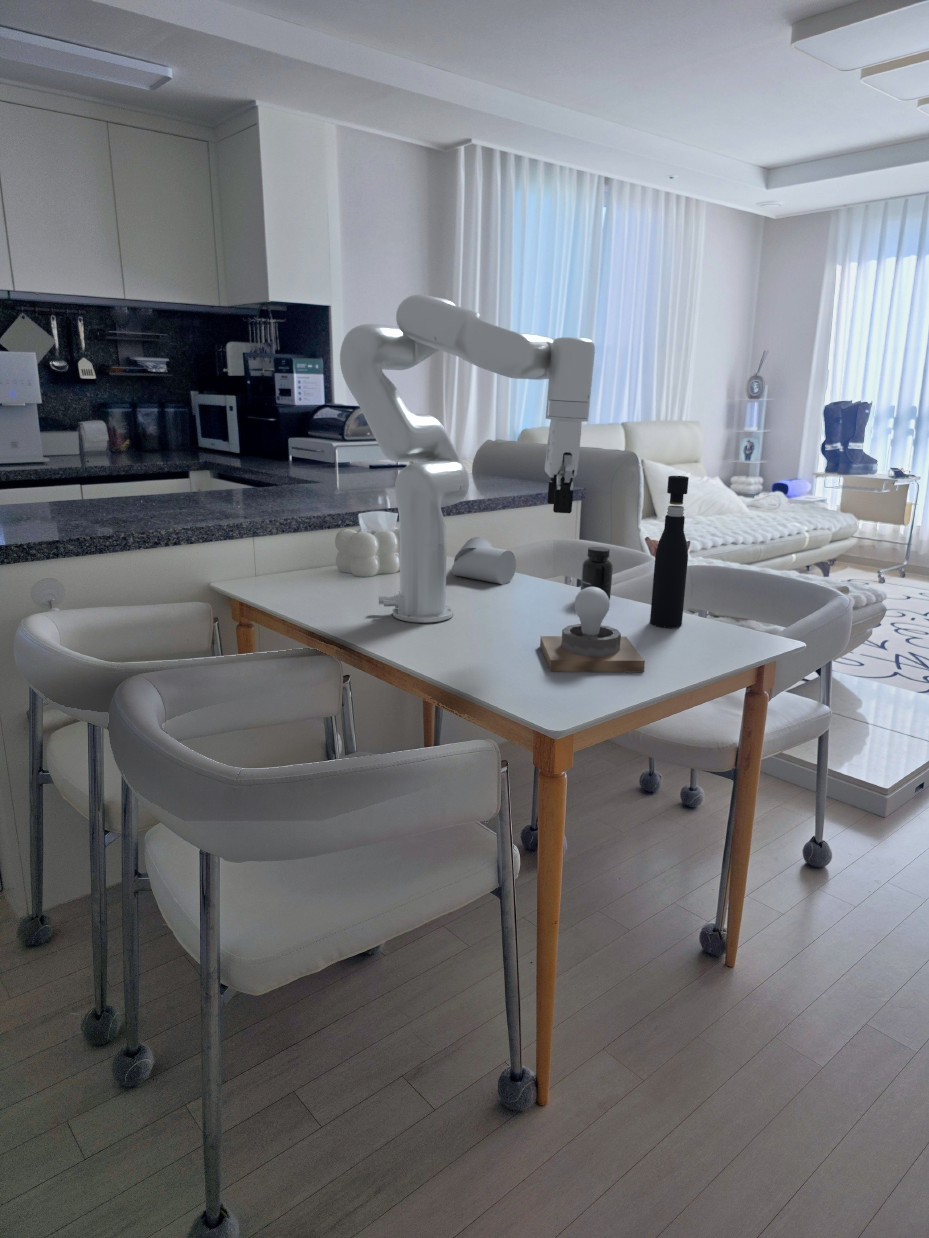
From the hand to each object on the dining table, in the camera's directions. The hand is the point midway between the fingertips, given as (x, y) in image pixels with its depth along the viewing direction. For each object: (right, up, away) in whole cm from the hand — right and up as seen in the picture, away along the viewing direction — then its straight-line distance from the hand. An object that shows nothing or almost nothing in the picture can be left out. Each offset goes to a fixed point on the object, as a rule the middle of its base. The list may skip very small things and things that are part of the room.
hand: (558, 508), depth 150 cm
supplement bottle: (+13, -16, +37) cm, 43 cm away
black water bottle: (+24, -21, +20) cm, 38 cm away
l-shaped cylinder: (-13, -9, +61) cm, 63 cm away
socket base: (+5, -27, -3) cm, 28 cm away
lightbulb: (+5, -25, -4) cm, 26 cm away
